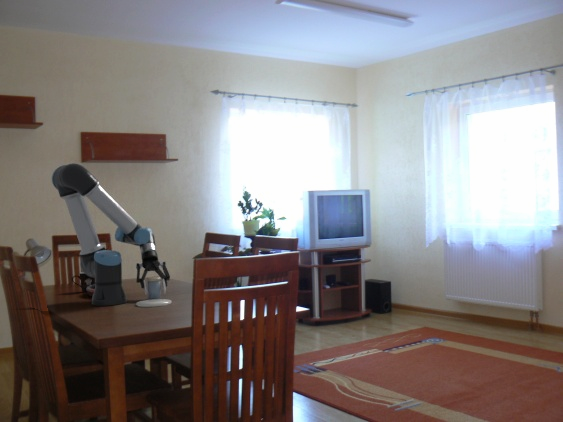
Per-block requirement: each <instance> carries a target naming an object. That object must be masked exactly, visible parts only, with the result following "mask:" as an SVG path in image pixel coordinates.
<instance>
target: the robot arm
mask: <svg viewBox="0 0 563 422" xmlns="http://www.w3.org/2000/svg"><path fill="white" fill-rule="evenodd" d="M51 183H52V185H53V187H54V188H55V189H56V190H57V192H58V194H59V198H60V199H63V200H64V202H65V204H66V207H67V211H68V213H69V216H70V219H71V221H72V225H73V228H74V231H75V233H76V237H77V239H78V240H77V241H78V243H79V246H80V251H79V253H78V254H79V257H80V264H79V265H80V269H81V271H82V272H84V273H85V274H86V275H88V276H89V277H92V278H95V290H94V294H93V297H92V296H91V297H92V298H91V305H92V306H98V307H102V306H117V305H122V304H123V305H124V304H126V303H128V302H127V301H128V297H127V294H126V292H125V289H124V287H123V269H122V267H123V266H122V262H123V261H122V260H123V259H122V253H121V252H119V251H117V250H109V249H107V250H106V247H105V245H103V244H101V242H100V239H99V236H98V233H97V231H96V228H95V224H94V221H93V218H92V215H91V212H90V209H89V206H88V203H87V200H86V198H87V199H88V200H89V201H90V202H91V203H93V205H94V206H96V207H97V209H99V210H100V212H102V213H103V214H104V215H105V216H106V217H107V218H108V219H109V220H110V221H111V222H112V223H113V224H114V225H115V226H116V227H117V228H116V230H115V233H114V239H115V241H116V242H120V243H124V244H128V245H133V246H137V247H139V250H140V255H141V261H142V263H136V265H135V266H136V267H135V268H136V281H135V282H136V284H139V283H140V287H141V289H143V290H144V292H143V293H144V295H145V296H148V287H147V283H146V282H147V280H146V278H147V274H148V273H149V272H155V273H156V274H157V275H158V277H161V286H162V289H163V290H162V291H163V294H166V293H167V287H168V281H170V278H171V275H170V272H169V271H168V268H167V265H166V264H167V263H166V261H163V262H160V260H159V256H158V250H157V245H156V240H155V234H154V231H153V230H152V228H150V227H142V225H140V224H139V223H138V222H137V221H136V220H135V219H134V218H133V217H132V216H131V215H130V214H129V213H128V212H127V211H126V210H125V209H124V208H123V207H122V206H121V204H119V203H118V202H117V200H115V199H114V198H113V197H112V196H111V195H110V194H109V193H108V192H107V190H105V189H104V188H103V187H102V186H101V185H100V181H99V180H98V179H97V177H95V176H94V175H93V174H92V173H91V172H90V171H89V170H88V169H87V168H86V167H84V166H83V165H82V164H79V163H75V162H74V163H69V164H64V165H60V166H59V167H57V168H56V169H55V170H54V171H53V172H52V175H51ZM142 268H143V269H144V270H143V273H142V274H141V269H142ZM160 268H162V270H161V269H160ZM141 275H142V276H141ZM140 276H141V278H140Z"/></svg>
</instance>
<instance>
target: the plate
mask: <svg viewBox="0 0 563 422" xmlns="http://www.w3.org/2000/svg"><path fill="white" fill-rule="evenodd" d="M135 303H136V307H140V308H155V307H157V308H158V307H165V306H168V305H171V304H172V300H171V299H165V298H161V299H154V300H148V299H147V300H146V299H145V300H140V301H137V302H135Z"/></svg>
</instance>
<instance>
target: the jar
mask: <svg viewBox="0 0 563 422" xmlns="http://www.w3.org/2000/svg"><path fill="white" fill-rule="evenodd" d="M146 282H147V300H154V299H162V279H161V277H160V276H152V277H151V276H150V277H146Z"/></svg>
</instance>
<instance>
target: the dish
mask: <svg viewBox="0 0 563 422" xmlns="http://www.w3.org/2000/svg"><path fill="white" fill-rule="evenodd" d="M86 290H87V292H86V293H87V294H88V296H90V297H93V294H94V290H95V284H94V285H90V286H88V287H87V288H86Z"/></svg>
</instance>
